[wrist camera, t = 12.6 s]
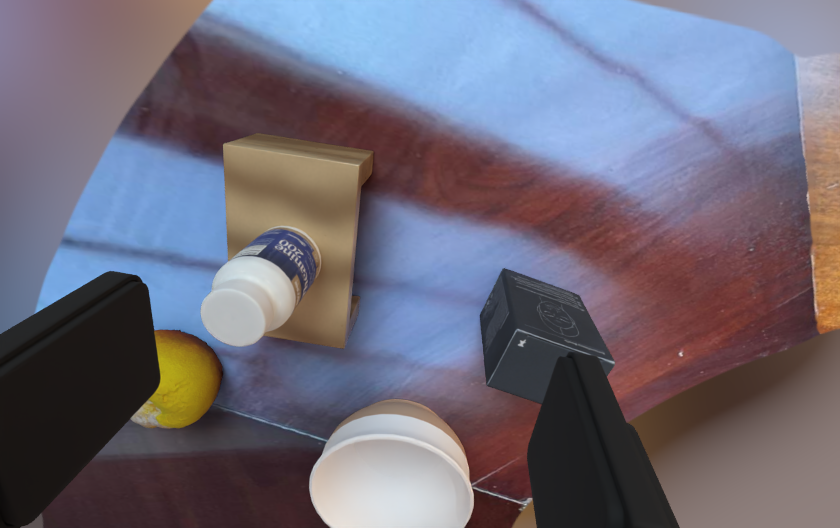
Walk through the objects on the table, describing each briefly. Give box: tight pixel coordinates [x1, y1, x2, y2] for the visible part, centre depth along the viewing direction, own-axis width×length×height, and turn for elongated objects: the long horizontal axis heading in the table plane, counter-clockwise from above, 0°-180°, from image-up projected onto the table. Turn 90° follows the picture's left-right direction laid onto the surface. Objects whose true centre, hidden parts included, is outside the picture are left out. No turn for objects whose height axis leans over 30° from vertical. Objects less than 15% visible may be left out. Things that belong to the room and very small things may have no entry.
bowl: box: [309, 399, 474, 528], centre depth 46 cm, size 16×16×8 cm
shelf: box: [223, 133, 374, 349], centre depth 38 cm, size 16×10×6 cm, turn 172°
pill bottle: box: [201, 226, 321, 347], centre depth 31 cm, size 5×5×10 cm
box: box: [480, 268, 615, 404], centre depth 37 cm, size 8×6×11 cm
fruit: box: [131, 330, 223, 428], centre depth 46 cm, size 11×10×8 cm
